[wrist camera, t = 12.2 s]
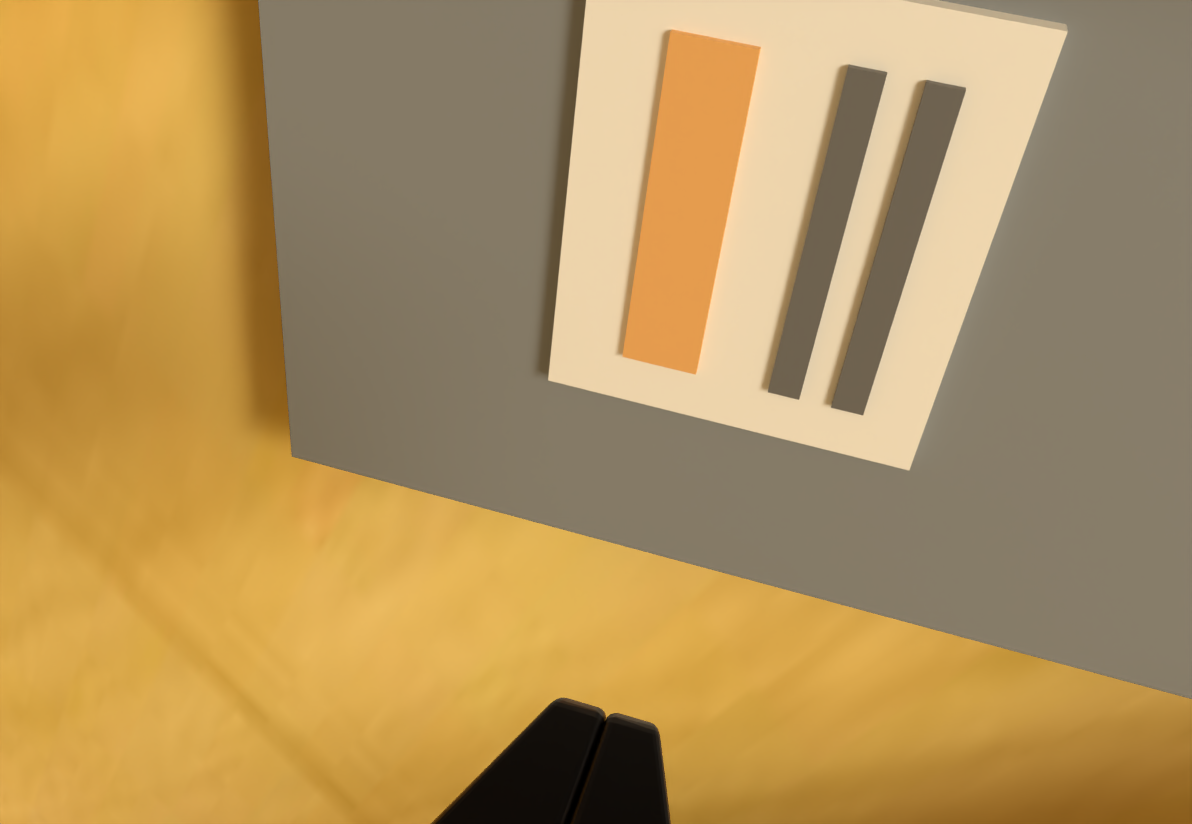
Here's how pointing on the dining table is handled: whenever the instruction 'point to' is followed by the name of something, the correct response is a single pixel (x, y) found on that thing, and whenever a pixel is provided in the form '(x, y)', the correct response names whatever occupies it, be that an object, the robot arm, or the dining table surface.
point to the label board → (766, 291)
